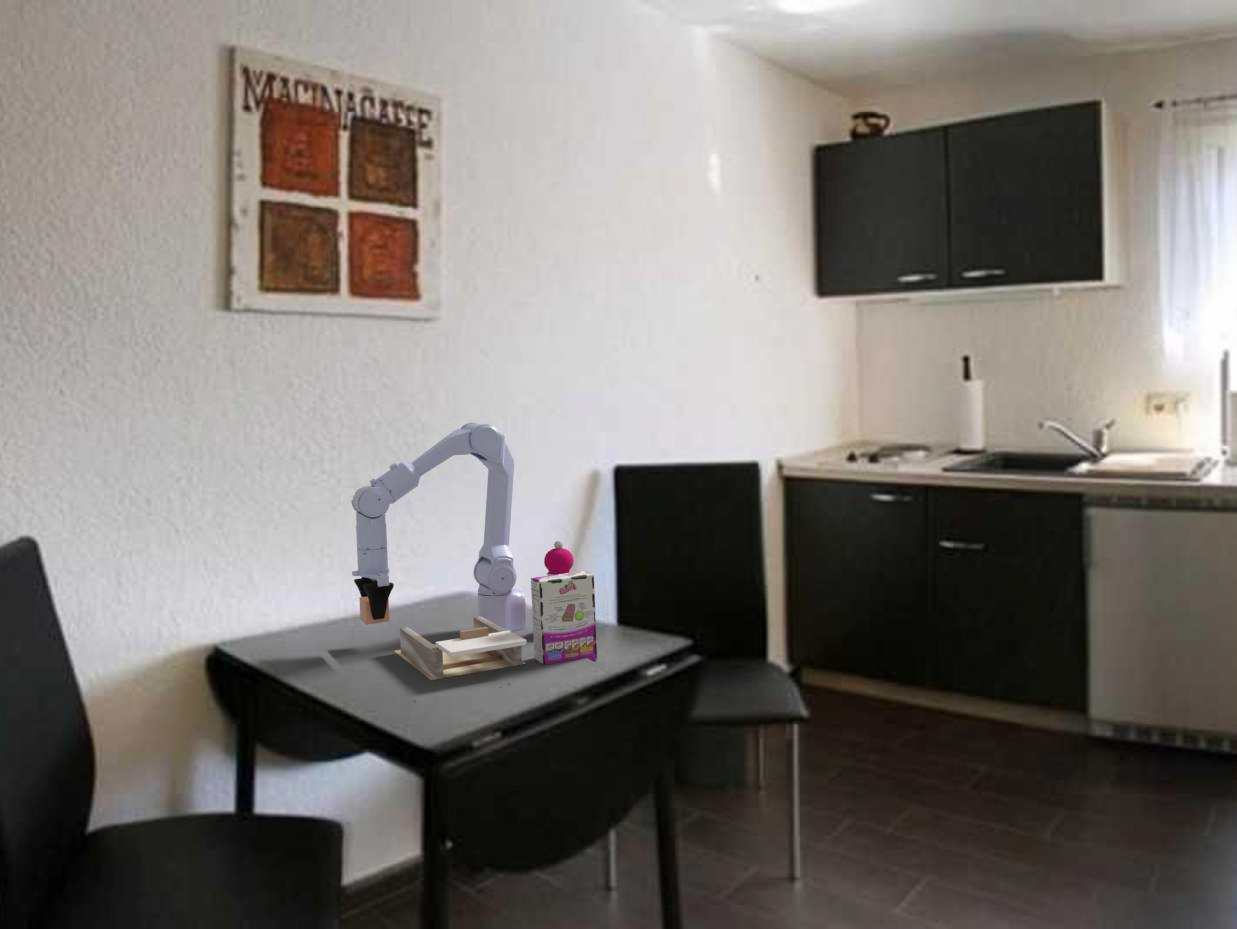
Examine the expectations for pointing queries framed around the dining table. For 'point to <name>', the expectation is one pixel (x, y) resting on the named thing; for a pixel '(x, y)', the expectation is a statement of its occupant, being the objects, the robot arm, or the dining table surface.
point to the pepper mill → (558, 560)
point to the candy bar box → (564, 617)
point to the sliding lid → (479, 642)
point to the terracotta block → (366, 612)
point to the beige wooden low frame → (444, 666)
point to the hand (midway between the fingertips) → (375, 616)
